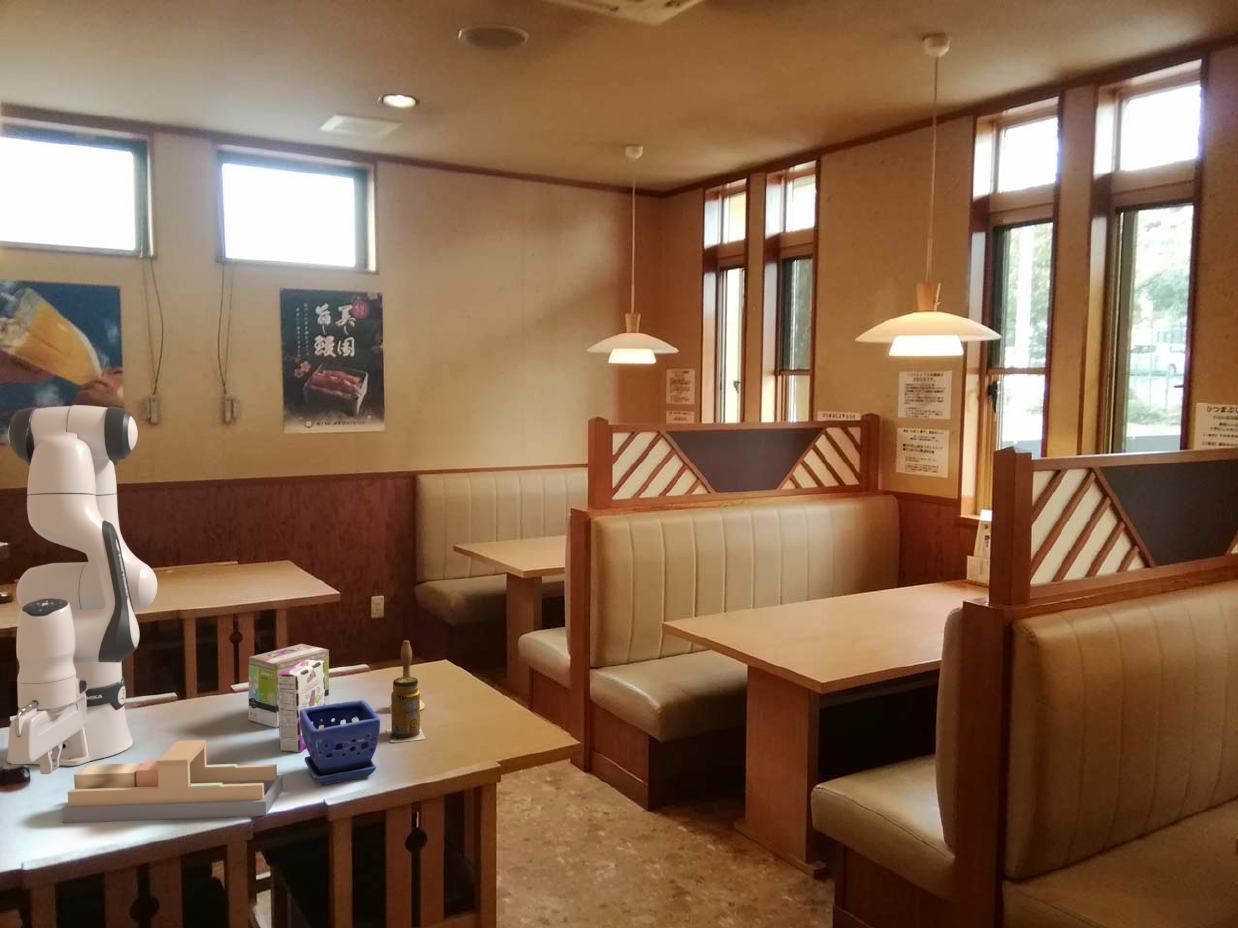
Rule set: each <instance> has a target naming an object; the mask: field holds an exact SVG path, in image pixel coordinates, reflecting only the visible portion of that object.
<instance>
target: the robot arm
mask: <svg viewBox="0 0 1238 928" xmlns="http://www.w3.org/2000/svg"><path fill="white" fill-rule="evenodd" d="M138 433H139V432H138V427H137V423H136V421H135V418H134V416H133V414H132V413H131V412H130V411H129V410H128V409H125V408H122V407H118V406H117V407H116V406H109V407H105V406H104V407H103V406H96V405H82V404H79V405H78V404H74V405H73V404H72V405H68V406H67V405H66V406H50V407H48V406H47V407H40V408H39V407H38V406H34V407H28V408H22V409H19V410H17V411H16V412H15V414H14V415H12V417H11V419H10V421H9V426H8V430H7V438H8V443H9V445H10V449H11V451H12V453H13V454H14V455H15V456H16V457H17V458H18V459H20V460H22V461H24V462H26V464H27V466H29V471H28V478H27V493H26V494H27V496H26V497H27V498H26V501H27V502H26V507H27V508H26V509H27V510H26V511H27V516H28V523H29V524H30V526H31V527H32V529H33V530H34V532H36V534H38V535H39V536H40V537H42V538H44V539H45V540H47V541H49V542H51V543H54V544H58V545H60V546H64V547H67V548H70V549H73V550H76V551H80V552H82V553H83V554H85V555H86V557H87V560H88V561H84V562H53V563H52V562H51V563H47V564H42V565H38V566H34V567H29V568H28V569H27V570H26V571H25V572H24V573H23V574H22V576H21V577H20V579H19V580H18V581H17V585H16V592H15V593H16V600H17V603H18V605H19V606H20V608H21V609H20V610H19V614H18V620H17V628H16V658H17V661H18V665H19V669H18V674H17V679H16V681H17V707H18V710H17V714H16V717H14V718H13V719H12V720H11V722H10V725H9V729H8V730H9V731H8V740H7V741H8V743H7V744H8V746H7V747H8V748H7V757H6V762H7V763H8V764H11V765H39V772H40V774H41V775H50V774H52V773H53V772H55V771H56V770H57V769H58V768H59V767H60V766H64V767H65V766H68V767H71V766H72V767H74V766H79V765H82V764H85V763H88V762H91V761H95V760H99V759H103V758H108V757H111V756H114V755H117V754H119V753H122V752H124V751H126V750H127V749H129V748H131V747H132V746H133V744H134V739H133V737H132V734H131V732H130V729H129V725H128V720H127V715H126V709H125V705H126V692H127V691H126V683H125V677H124V676H123V670H122V669H123V666H122V662H123V661H124V660H126V659H127V658H129V657H130V656H132V654H133V653H134V652H135V651H136V650H137V649H138V646H139V642H140V628H139V627H140V626H139V623H138V619H137V618H136V614H135V612H141V611H145V610H146V609H148V608H149V607H150V606H151V604H153V602H154V600H155V598H156V596H157V593H158V585H159V583H158V579H157V578H158V577H157V576H156V573H155V572H154V570H153V569H152V568H151V567H150V566H149V565H148V564H146V563H145V562H144V561H142V560H140V559H139V558H138V557H137V556H136V555H135V554H134V553H133V552H132V551H131V549H129V547H128V546H127V543H126V541H125V540H124V538H123V536H122V533H121V528H120V520H119V513H118V491H117V478H116V477H117V475H116V471H115V466H117V465H120V462H121V461H122V460H124V459H126V458H128V457H129V456H130V455H131V454H132V453H133V452H134V450H135V447H136V444H137V441H138V438H139V437H138V435H139V434H138Z"/></svg>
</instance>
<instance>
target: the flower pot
mask: <svg viewBox="0 0 1238 928" xmlns="http://www.w3.org/2000/svg"><path fill="white" fill-rule="evenodd" d="M355 718H357V719H358V721H353V719H355ZM333 719H334V720H333ZM321 720H322V721H321ZM332 720H333V721H332ZM311 721H313V724H312V723H311ZM342 721H345V723H344V724H343V723H342V724H341V722H342ZM320 725H324V728H321V729H319V726H320ZM300 726H301V731H302V735H303V739H304V742H305V745H306V749H307V752H308V754H309V755H308V756H305V757H304V763H305V764H306V766H307V769H308V770H309V772H310V773H311V775H312V777H313V778H314V780H315V781H316V783H318V785H329V784H334V783H341V782H344V781H345V782H347V781H352V780H356V779H362V778H366V777H369V776H371V774H373V773H374V772H375V771H376V768H377V767H376V764H375V763H374V761H373V760H372V759H373V757H374V756H375V755H374V754H375V752H376V750H377V746H378V742H379V737H380V732H381V731H380V729H381V719H380V717H379V715H378V714H377V713H376V711H375V710H374V709H373V707H372V706H370V704H369V703H368V702H367V701H365V700H363V699H361V700H352V701H351V700H350V701H343V702H337V703H331V704H329V705H324V706H318V707H312V708H306V709H301V710H300Z"/></svg>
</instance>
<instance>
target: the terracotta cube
mask: <svg viewBox="0 0 1238 928" xmlns="http://www.w3.org/2000/svg"><path fill="white" fill-rule="evenodd" d="M159 759H160V758H159ZM159 759H157V758H156V759H155V758H154V759H147V760H145V762H143V763H144V764H143V765H142V766H140V767H139V768H138V769H137V770H136V779H137V787H158V760H159Z"/></svg>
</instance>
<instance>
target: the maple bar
mask: <svg viewBox="0 0 1238 928" xmlns="http://www.w3.org/2000/svg"><path fill="white" fill-rule="evenodd" d="M144 763H145V762H136V763H134V762H133V763H107V764H105V763H101V764H86V765H84V766H83V767H81V769H79V770H78V771H77V772H75V774H73V777H74V778H73V779H74V789H100V788H129V787H137V779H136V770H137V769H138V768H139V767H140V766H142V765H143V764H144Z"/></svg>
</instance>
